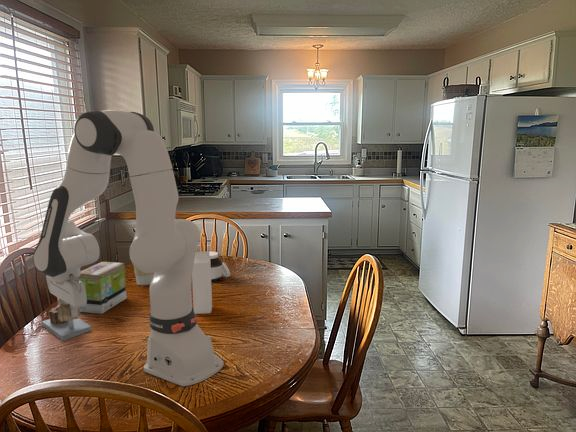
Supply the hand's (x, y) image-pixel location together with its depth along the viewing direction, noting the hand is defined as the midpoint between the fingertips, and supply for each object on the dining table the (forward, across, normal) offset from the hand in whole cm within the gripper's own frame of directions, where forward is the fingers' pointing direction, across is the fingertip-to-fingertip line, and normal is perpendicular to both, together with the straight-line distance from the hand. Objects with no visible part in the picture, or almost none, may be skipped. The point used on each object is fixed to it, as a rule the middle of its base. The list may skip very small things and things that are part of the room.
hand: (69, 312), depth 134 cm
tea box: (+7, +13, -17) cm, 23 cm away
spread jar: (+7, +4, -63) cm, 64 cm away
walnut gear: (+5, +8, 0) cm, 9 cm away
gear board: (+7, +4, 0) cm, 8 cm away
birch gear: (+2, 0, 0) cm, 2 cm away
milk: (+6, -19, -38) cm, 43 cm away
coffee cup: (+7, +23, -40) cm, 47 cm away
